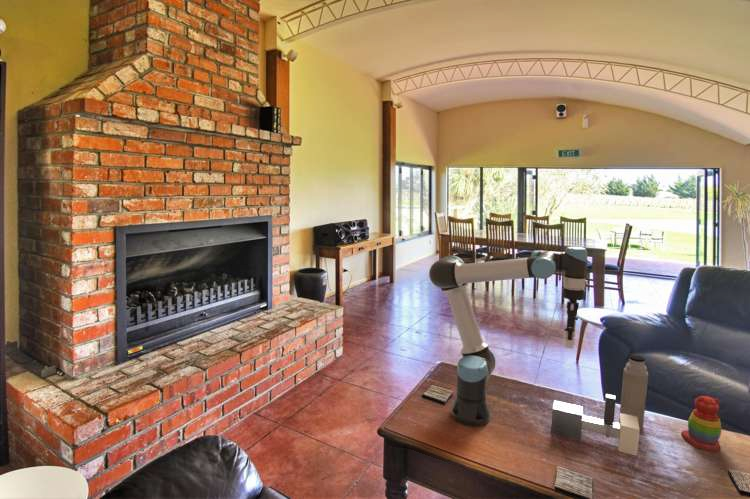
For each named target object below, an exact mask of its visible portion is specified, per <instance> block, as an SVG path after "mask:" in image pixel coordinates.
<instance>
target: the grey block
mask: <svg viewBox="0 0 750 499" xmlns="http://www.w3.org/2000/svg"><path fill="white" fill-rule="evenodd" d="M583 409H584V406H583V405H582V406H581V405H577V404H574V403H573V404H572V403H569V402H568V403H567V402H564V401H559V400H556V399H555V400H553V404H552V411H551V413H552V414H551V415H552V416H551V425H550V426H551V429H550V430H551V431H550V433H551V434H555V435H557V436H562V437H563V436H564V437H567V438H571V439H575V440H579V441H581V439H582V438H581V437H582V430H581V428H582V415H584V414H583V412H584V410H583Z"/></svg>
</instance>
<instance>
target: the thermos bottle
mask: <svg viewBox="0 0 750 499" xmlns="http://www.w3.org/2000/svg"><path fill="white" fill-rule="evenodd" d="M645 360H646V359H645V357H644V356H642V355H638V354H637V355H636V354H631V355H629V361H628V362H626V365H625V367H624V368H623V372H622V373H623V376H622V383H621V384H622V386H621V396H620V405H619V414H620V413H622V414H627V415H632V416H636V417H637V418H638V424H639V429H640V431H639V432H641V431H642V430H643V429H644V422H645V411H646V398H647V393H648V392H647V391H648V384H649V383H648V382H649V372H648V368H647V366H646V365H645Z"/></svg>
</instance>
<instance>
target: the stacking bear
mask: <svg viewBox="0 0 750 499" xmlns="http://www.w3.org/2000/svg"><path fill="white" fill-rule="evenodd" d="M719 403H720V400H719V399H718V398H713V397H711V396H708V395H700V396H698V397H696V398H695V399H694V405H695V408H694V409H693V410H692V412H691V413H690V416H689V418H688V421H687V429H688V430H687V429H685V430H682V431H681V432H680V434H681V436H682V438H683V439H684V440H685V442H687V443H689V444H691V446H692V445H693V446H694V447H696V448H699V449H701V450H704V451H709V452H710V451H712V452H713V451H717V450H718V449H719V448H720V442H719V439H720V437H721V435H722V423H721V419H720V417H719V415H718V413H719V411H720V405H719Z"/></svg>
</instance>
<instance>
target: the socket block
mask: <svg viewBox="0 0 750 499" xmlns="http://www.w3.org/2000/svg"><path fill="white" fill-rule="evenodd" d="M618 416H619V417H618V423H620V436H619V438H616V439H617V448H618V452H620V453H625V454H628V455H632V456H637V455H638V449H639V442H640V441H639V440H640V432H641V431H640V429H639V424H638V418H637V417H636V416H632V415H627V414H622V413H620V412H619V415H618Z"/></svg>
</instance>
